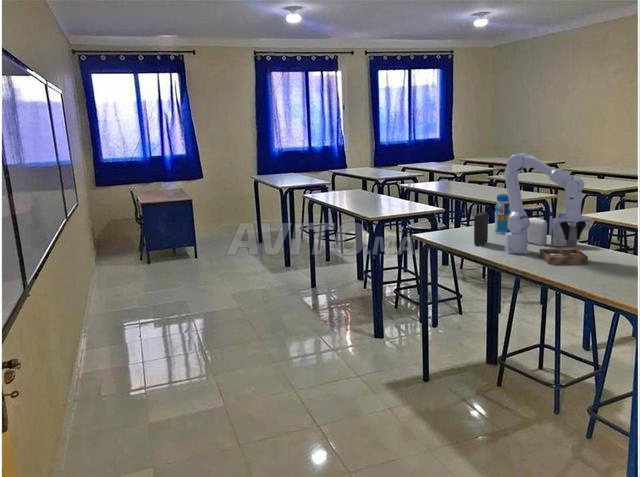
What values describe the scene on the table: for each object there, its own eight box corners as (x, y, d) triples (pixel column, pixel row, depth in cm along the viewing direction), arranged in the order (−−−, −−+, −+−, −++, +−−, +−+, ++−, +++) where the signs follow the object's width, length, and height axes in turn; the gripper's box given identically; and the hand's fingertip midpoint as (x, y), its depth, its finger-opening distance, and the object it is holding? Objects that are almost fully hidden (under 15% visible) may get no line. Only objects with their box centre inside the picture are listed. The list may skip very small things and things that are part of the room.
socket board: (548, 264, 215) (549, 256, 215) (539, 255, 229) (539, 248, 228) (587, 263, 213) (587, 255, 212) (575, 254, 227) (576, 247, 226)
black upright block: (480, 241, 260) (480, 211, 256) (488, 242, 257) (488, 212, 254) (472, 245, 253) (473, 214, 249) (481, 246, 250) (481, 215, 247)
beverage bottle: (491, 231, 278) (491, 194, 274) (505, 230, 280) (506, 193, 275) (500, 235, 270) (501, 196, 266) (514, 233, 272) (515, 195, 267)
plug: (568, 246, 219) (569, 225, 217) (564, 244, 223) (565, 223, 221) (578, 245, 218) (579, 225, 217) (574, 243, 222) (575, 223, 220)
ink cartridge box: (572, 243, 246) (573, 213, 242) (575, 246, 240) (577, 215, 237) (549, 243, 248) (551, 213, 244) (552, 246, 242) (553, 215, 239)
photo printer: (547, 244, 246) (549, 218, 243) (542, 246, 244) (543, 220, 241) (529, 240, 255) (530, 216, 252) (523, 242, 253) (524, 217, 250)
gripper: (557, 209, 214) (556, 242, 217) (595, 208, 212) (593, 241, 215) (552, 207, 221) (551, 238, 224) (589, 205, 219) (587, 237, 222)
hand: (571, 239), depth 220 cm, fingers closed on plug, 4 cm apart
